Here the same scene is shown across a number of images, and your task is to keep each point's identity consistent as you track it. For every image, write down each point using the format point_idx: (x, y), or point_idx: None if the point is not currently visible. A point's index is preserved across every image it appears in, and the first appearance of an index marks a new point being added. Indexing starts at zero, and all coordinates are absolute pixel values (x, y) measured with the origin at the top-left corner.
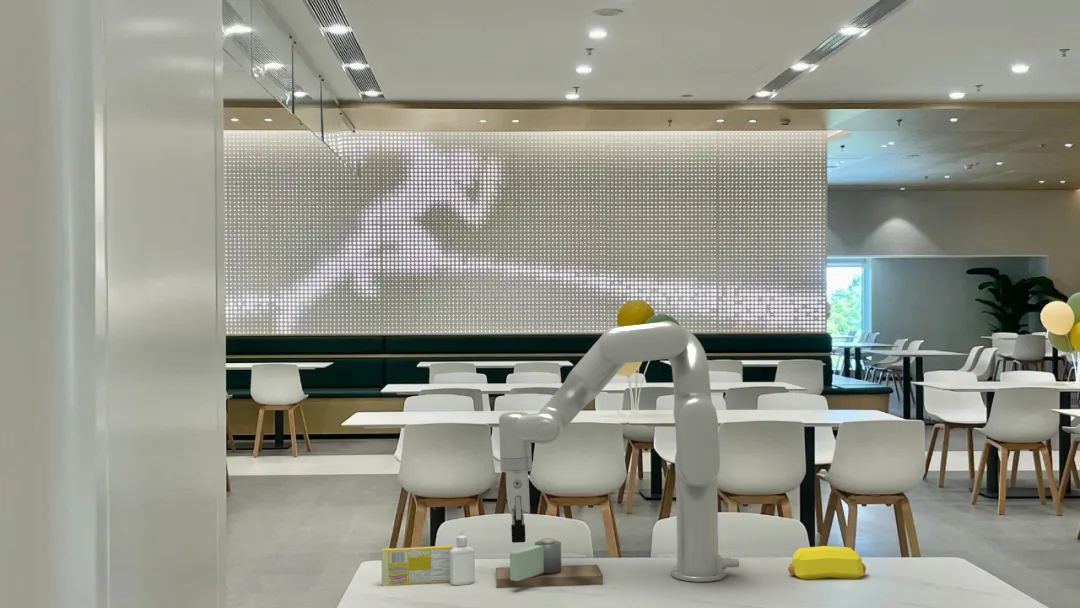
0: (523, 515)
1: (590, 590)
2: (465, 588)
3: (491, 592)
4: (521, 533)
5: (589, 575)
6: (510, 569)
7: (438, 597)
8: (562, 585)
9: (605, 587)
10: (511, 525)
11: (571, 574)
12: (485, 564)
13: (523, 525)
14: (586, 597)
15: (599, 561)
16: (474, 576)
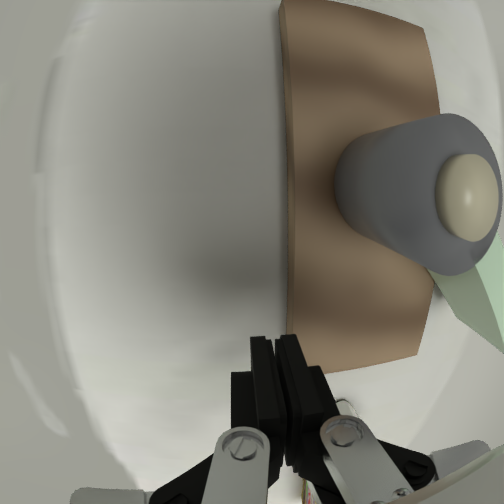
0: (408, 484)
1: (456, 88)
2: (381, 403)
3: (431, 346)
4: (327, 387)
5: (427, 60)
6: (474, 329)
7: (416, 422)
8: None
9: (431, 43)
10: (296, 472)
11: (421, 109)
12: (137, 385)
13: (352, 419)
14: (493, 120)
15: (118, 9)
16: (349, 409)
